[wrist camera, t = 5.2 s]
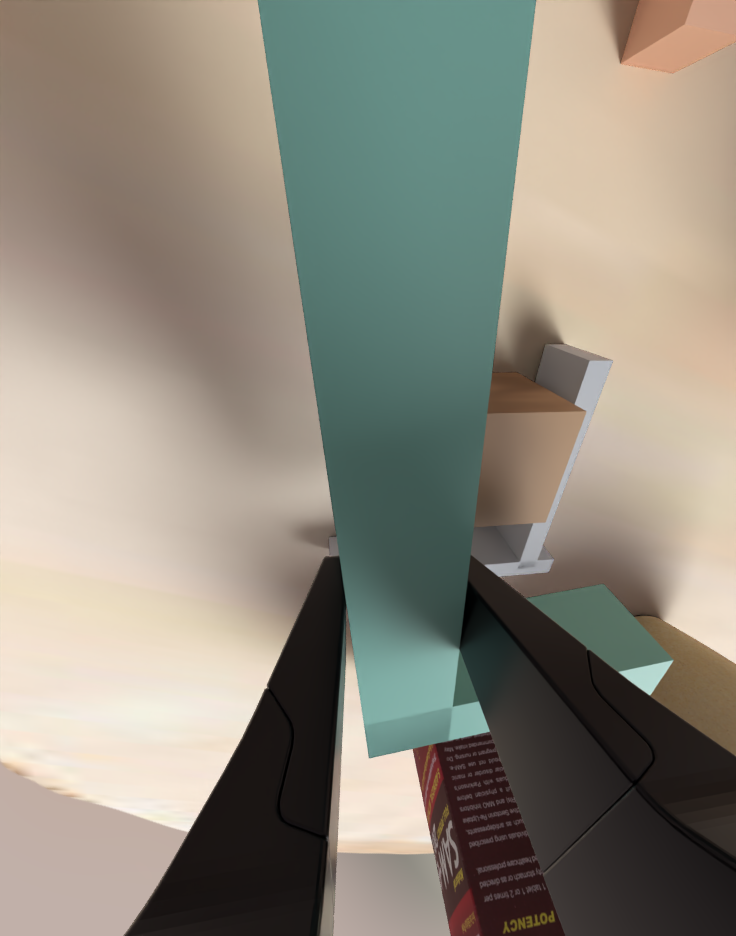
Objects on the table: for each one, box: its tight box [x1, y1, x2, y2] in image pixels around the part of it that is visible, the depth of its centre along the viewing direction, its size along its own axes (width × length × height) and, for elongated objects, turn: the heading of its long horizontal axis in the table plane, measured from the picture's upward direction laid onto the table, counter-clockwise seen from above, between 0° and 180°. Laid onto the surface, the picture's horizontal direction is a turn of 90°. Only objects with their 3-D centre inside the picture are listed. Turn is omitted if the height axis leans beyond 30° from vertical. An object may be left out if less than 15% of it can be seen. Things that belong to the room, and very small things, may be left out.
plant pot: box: [635, 616, 736, 756], centre depth 24 cm, size 15×15×16 cm
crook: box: [258, 0, 674, 758], centre depth 8 cm, size 9×16×3 cm, turn 4°
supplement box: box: [413, 732, 565, 936], centre depth 20 cm, size 9×5×16 cm, turn 1°
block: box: [474, 372, 587, 527], centre depth 16 cm, size 5×5×5 cm
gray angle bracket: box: [329, 344, 613, 577], centre depth 17 cm, size 12×12×3 cm
